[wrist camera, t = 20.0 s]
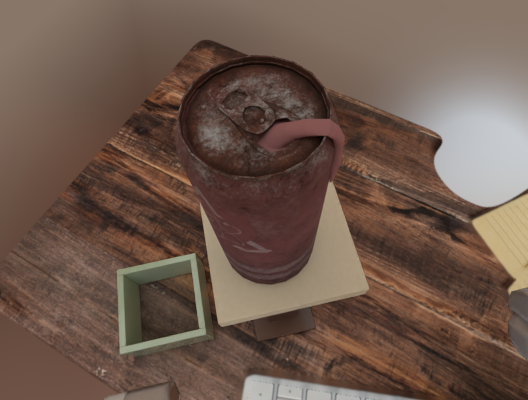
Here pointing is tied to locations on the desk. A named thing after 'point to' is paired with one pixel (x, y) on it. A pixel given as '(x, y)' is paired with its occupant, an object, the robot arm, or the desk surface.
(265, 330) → the post
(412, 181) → the desk surface
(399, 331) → the desk surface
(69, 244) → the desk surface
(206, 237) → the beige square panel
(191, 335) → the holder
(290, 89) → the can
